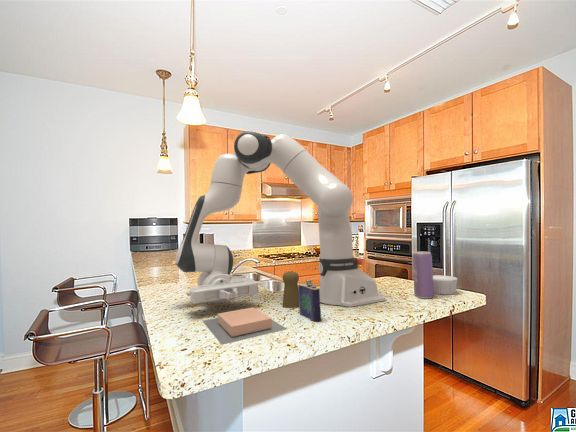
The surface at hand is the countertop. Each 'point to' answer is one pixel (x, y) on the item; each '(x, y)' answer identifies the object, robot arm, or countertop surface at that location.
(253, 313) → the tile
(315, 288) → the flask
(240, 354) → the countertop surface
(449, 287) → the ramekin
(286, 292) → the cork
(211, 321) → the slate board
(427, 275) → the beverage can
